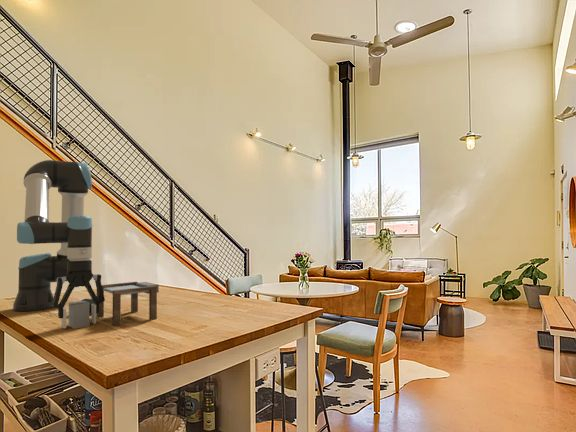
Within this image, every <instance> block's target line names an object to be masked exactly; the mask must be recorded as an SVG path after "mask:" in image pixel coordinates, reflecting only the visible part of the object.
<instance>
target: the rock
mask: <svg viewBox="0 0 576 432" xmlns="http://www.w3.org/2000/svg"><path fill="white" fill-rule="evenodd" d="M80 301H86V302H89V303H90V307H89V313H92V304H94V302H93V300H92V298H84V299H83V298H82V300H80Z"/></svg>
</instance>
